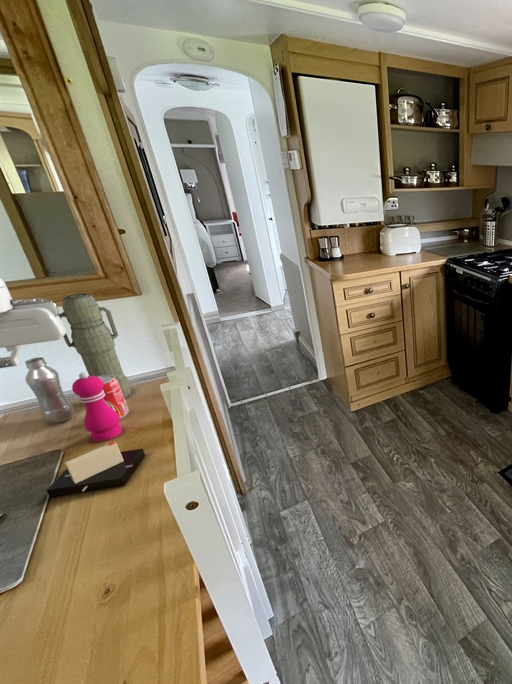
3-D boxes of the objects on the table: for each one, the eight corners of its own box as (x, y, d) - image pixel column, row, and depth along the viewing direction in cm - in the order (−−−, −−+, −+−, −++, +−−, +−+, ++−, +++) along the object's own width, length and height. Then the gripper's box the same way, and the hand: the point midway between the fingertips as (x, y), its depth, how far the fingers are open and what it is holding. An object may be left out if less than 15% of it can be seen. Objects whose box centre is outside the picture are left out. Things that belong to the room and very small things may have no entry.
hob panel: (42, 507, 83) (37, 498, 82) (79, 466, 95) (75, 457, 94) (122, 493, 87) (118, 484, 86) (148, 455, 99) (145, 447, 98)
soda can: (125, 408, 119) (112, 371, 114) (133, 416, 115) (119, 378, 111) (95, 418, 114) (80, 380, 109) (102, 427, 110) (86, 388, 105)
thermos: (141, 393, 127) (107, 294, 114) (95, 408, 118) (52, 303, 105) (132, 385, 132) (98, 289, 119) (87, 399, 123) (45, 297, 110)
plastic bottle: (40, 428, 109) (10, 367, 101) (53, 416, 114) (25, 357, 107) (70, 423, 111) (43, 363, 104) (80, 411, 117) (55, 353, 109)
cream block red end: (75, 483, 86) (66, 464, 84) (73, 481, 87) (63, 461, 85) (123, 461, 94) (116, 442, 92) (121, 459, 94) (114, 440, 92)
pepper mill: (89, 434, 107) (62, 372, 99) (122, 424, 112) (99, 363, 104) (91, 446, 102) (64, 382, 95) (126, 434, 107) (102, 372, 100)
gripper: (57, 292, 81) (80, 350, 86) (-94, 306, 71) (-58, 371, 76) (47, 300, 76) (72, 361, 82) (-116, 316, 66) (-76, 384, 71)
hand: (8, 366), depth 79 cm, fingers closed
